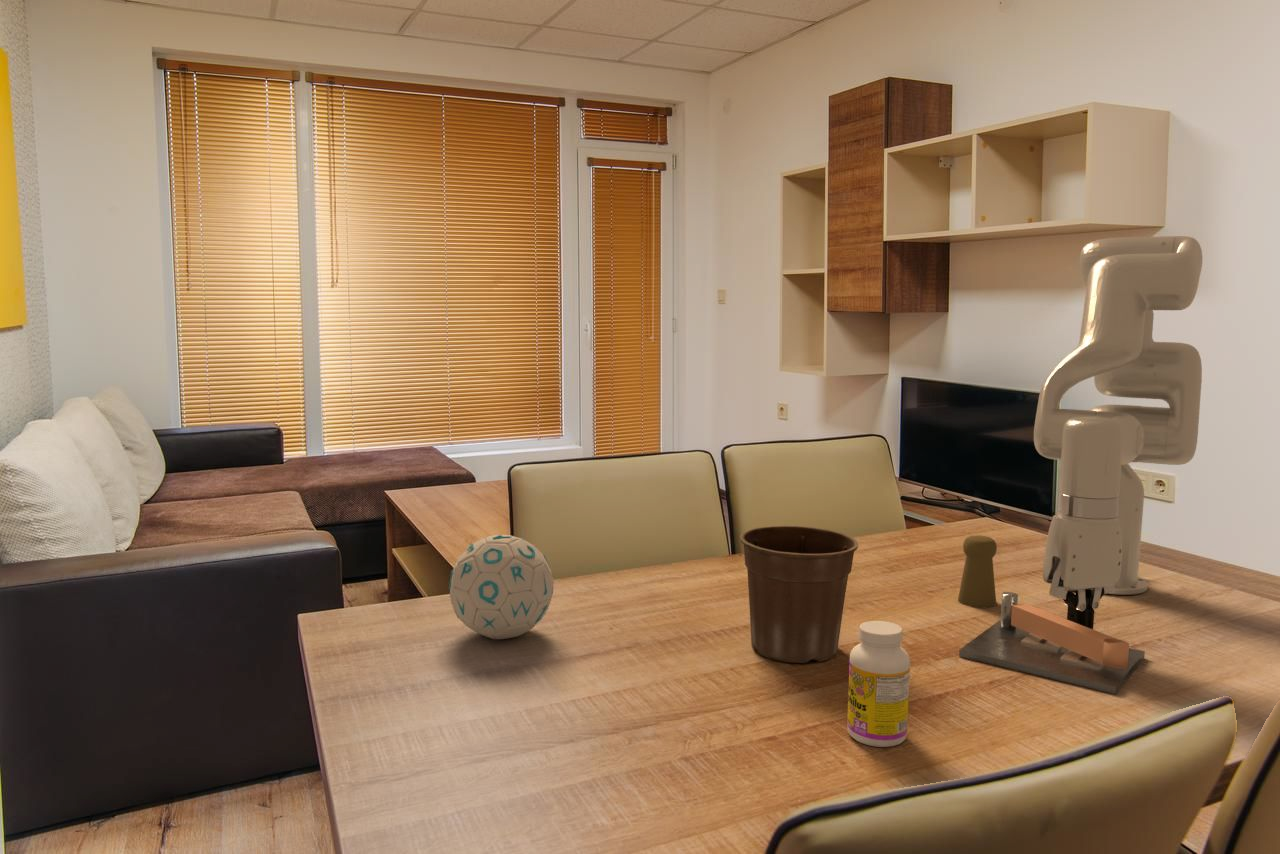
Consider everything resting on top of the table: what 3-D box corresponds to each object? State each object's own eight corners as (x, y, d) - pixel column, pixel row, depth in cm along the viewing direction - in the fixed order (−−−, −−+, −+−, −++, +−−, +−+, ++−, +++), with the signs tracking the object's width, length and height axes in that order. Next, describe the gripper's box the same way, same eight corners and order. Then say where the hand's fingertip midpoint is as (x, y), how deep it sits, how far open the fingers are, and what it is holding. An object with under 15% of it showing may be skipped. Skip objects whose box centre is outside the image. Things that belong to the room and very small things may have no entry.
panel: (998, 626, 144) (1000, 588, 144) (1144, 658, 132) (1147, 616, 131) (959, 656, 132) (961, 615, 131) (1115, 694, 119) (1118, 648, 119)
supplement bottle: (839, 724, 111) (843, 617, 109) (894, 722, 111) (899, 616, 110) (857, 750, 104) (861, 638, 103) (915, 748, 105) (920, 636, 103)
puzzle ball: (430, 635, 140) (427, 536, 138) (509, 611, 150) (508, 519, 149) (494, 662, 129) (492, 555, 127) (575, 634, 140) (574, 535, 138)
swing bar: (1009, 625, 139) (1010, 605, 139) (1025, 622, 140) (1026, 603, 140) (1115, 670, 122) (1117, 647, 122) (1132, 667, 123) (1134, 644, 123)
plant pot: (860, 636, 140) (864, 530, 138) (846, 677, 125) (851, 558, 123) (751, 624, 145) (753, 521, 143) (726, 661, 130) (728, 547, 128)
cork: (999, 608, 153) (1003, 542, 151) (960, 606, 154) (963, 540, 153) (993, 597, 159) (996, 533, 157) (955, 595, 160) (958, 531, 158)
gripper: (1107, 497, 137) (1098, 620, 139) (1025, 505, 132) (1017, 632, 134) (1151, 508, 130) (1141, 637, 132) (1066, 516, 125) (1058, 650, 127)
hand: (1079, 634), depth 133 cm, fingers closed
